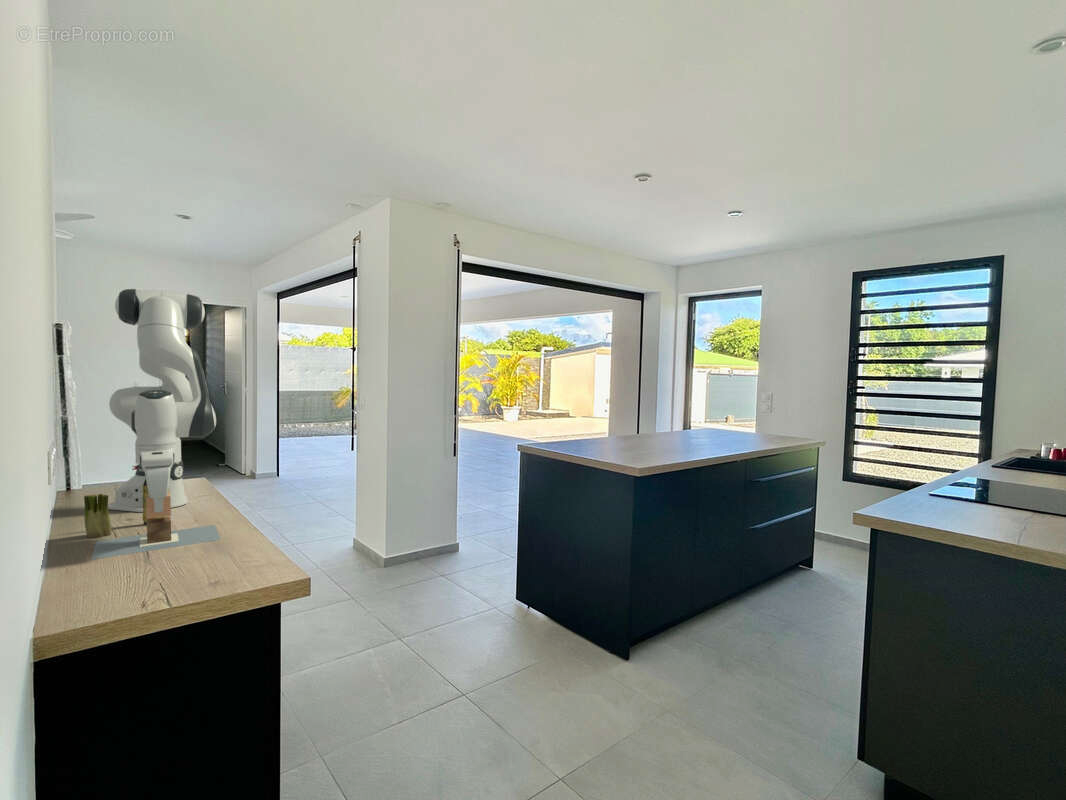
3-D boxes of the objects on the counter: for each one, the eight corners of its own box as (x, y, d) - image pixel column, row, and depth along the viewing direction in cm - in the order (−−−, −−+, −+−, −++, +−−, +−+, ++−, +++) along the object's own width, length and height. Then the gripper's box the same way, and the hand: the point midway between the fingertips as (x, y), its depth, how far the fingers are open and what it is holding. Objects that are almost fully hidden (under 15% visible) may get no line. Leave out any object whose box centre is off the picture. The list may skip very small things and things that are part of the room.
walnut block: (147, 543, 134) (146, 524, 134) (147, 538, 138) (146, 519, 138) (171, 540, 137) (170, 521, 137) (170, 535, 141) (170, 516, 141)
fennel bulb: (81, 540, 140) (80, 494, 140) (103, 535, 145) (102, 490, 144) (94, 543, 138) (92, 497, 137) (115, 538, 143) (114, 493, 142)
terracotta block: (146, 518, 134) (146, 498, 134) (146, 514, 138) (146, 494, 138) (170, 515, 137) (170, 496, 136) (170, 511, 141) (169, 492, 141)
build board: (91, 563, 124) (90, 558, 124) (96, 544, 137) (96, 540, 137) (221, 543, 139) (221, 539, 139) (215, 528, 152) (215, 524, 152)
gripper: (142, 450, 143) (143, 501, 144) (141, 461, 127) (142, 519, 127) (170, 448, 147) (172, 498, 148) (173, 459, 130) (174, 515, 131)
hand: (158, 508), depth 137 cm, fingers closed on terracotta block, 5 cm apart
